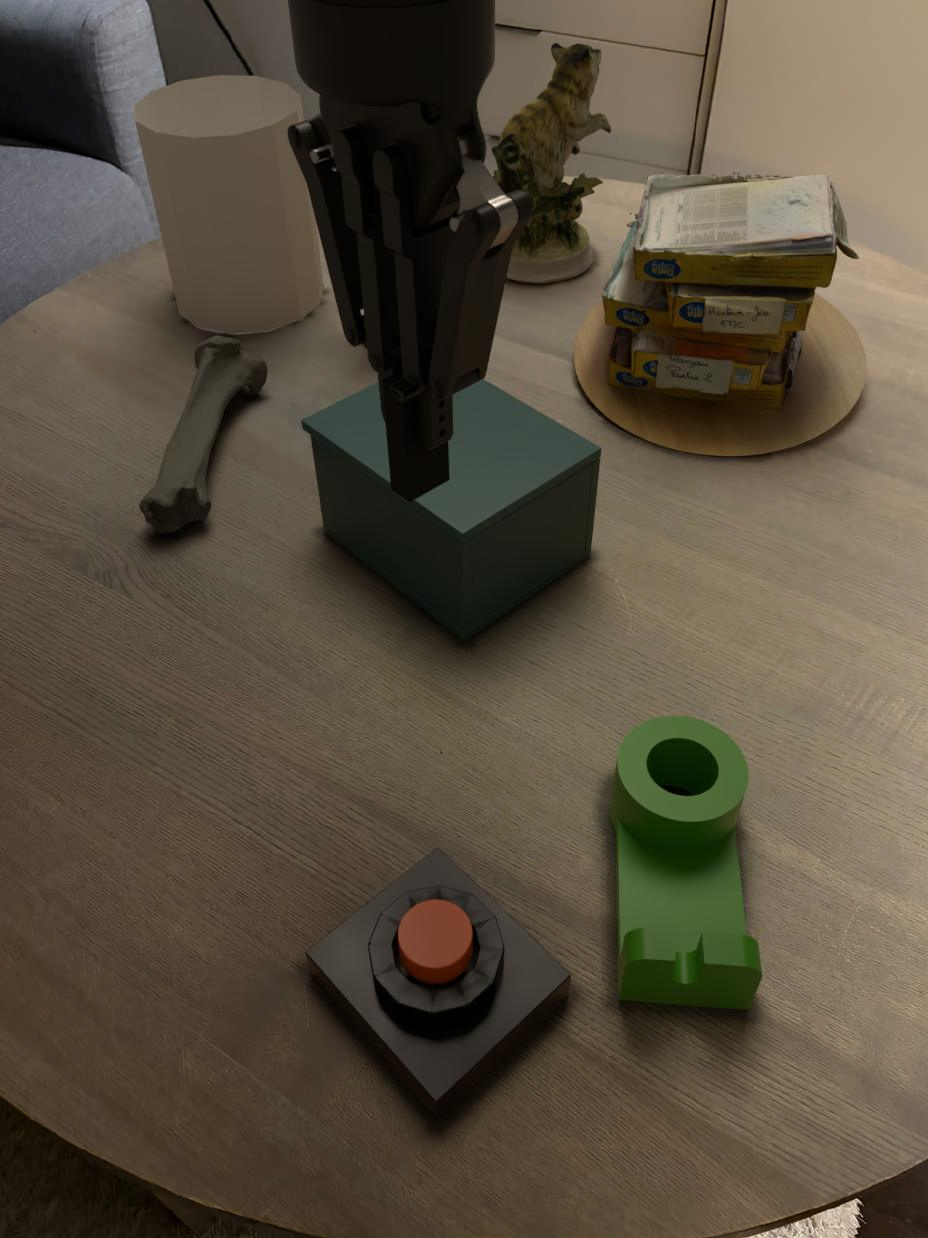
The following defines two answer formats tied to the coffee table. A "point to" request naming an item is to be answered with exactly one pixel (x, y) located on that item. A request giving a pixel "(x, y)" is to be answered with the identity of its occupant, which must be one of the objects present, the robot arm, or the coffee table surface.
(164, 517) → the bone
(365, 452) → the tin lid
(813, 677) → the coffee table surface
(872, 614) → the coffee table surface
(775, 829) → the coffee table surface
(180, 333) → the coffee table surface
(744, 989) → the green ring bracket
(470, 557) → the tin
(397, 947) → the control block
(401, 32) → the robot arm
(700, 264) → the paper stack
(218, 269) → the container
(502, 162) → the figurine
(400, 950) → the button
